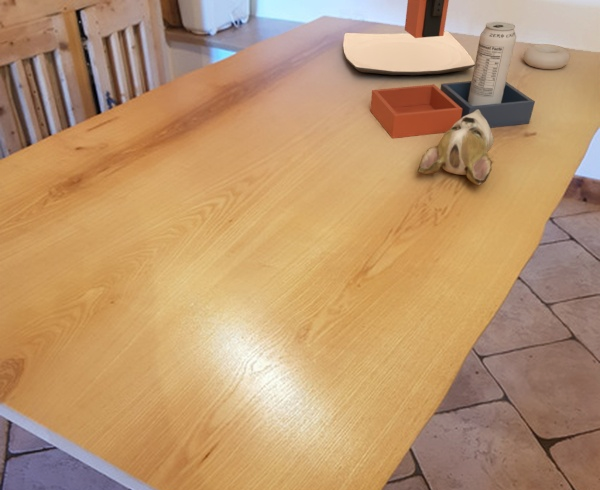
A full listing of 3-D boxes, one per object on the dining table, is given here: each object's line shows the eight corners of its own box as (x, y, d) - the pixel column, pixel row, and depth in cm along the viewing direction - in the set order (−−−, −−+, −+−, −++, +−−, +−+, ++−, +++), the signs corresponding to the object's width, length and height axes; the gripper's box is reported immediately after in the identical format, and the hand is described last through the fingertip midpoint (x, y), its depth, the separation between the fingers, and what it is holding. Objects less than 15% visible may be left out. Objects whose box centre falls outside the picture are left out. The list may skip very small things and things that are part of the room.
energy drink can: (505, 112, 103) (526, 26, 94) (482, 119, 101) (500, 32, 91) (482, 102, 107) (500, 18, 98) (459, 108, 105) (474, 23, 95)
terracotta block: (443, 36, 91) (452, -26, 85) (415, 38, 90) (422, -25, 84) (431, 28, 95) (439, -32, 89) (404, 30, 94) (410, -31, 88)
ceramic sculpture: (514, 104, 85) (492, 148, 75) (503, 155, 91) (480, 201, 81) (447, 94, 89) (417, 135, 79) (440, 143, 95) (412, 186, 85)
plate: (350, 82, 118) (350, 69, 117) (338, 42, 140) (338, 31, 138) (481, 79, 119) (483, 66, 117) (449, 40, 140) (451, 29, 139)
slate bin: (529, 123, 101) (535, 101, 98) (465, 130, 99) (470, 108, 96) (496, 98, 110) (501, 78, 108) (437, 104, 108) (441, 83, 106)
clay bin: (458, 131, 99) (462, 108, 96) (392, 138, 97) (394, 115, 94) (431, 105, 108) (434, 84, 105) (370, 111, 106) (371, 89, 104)
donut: (512, 63, 127) (550, 74, 121) (515, 47, 125) (554, 57, 118) (539, 55, 131) (576, 65, 125) (542, 39, 129) (581, 49, 123)
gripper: (399, -148, 83) (385, 19, 98) (448, -144, 70) (423, 49, 85) (445, -149, 84) (424, 16, 100) (502, -145, 71) (468, 45, 86)
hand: (423, 31), depth 92 cm, fingers closed on terracotta block, 5 cm apart
